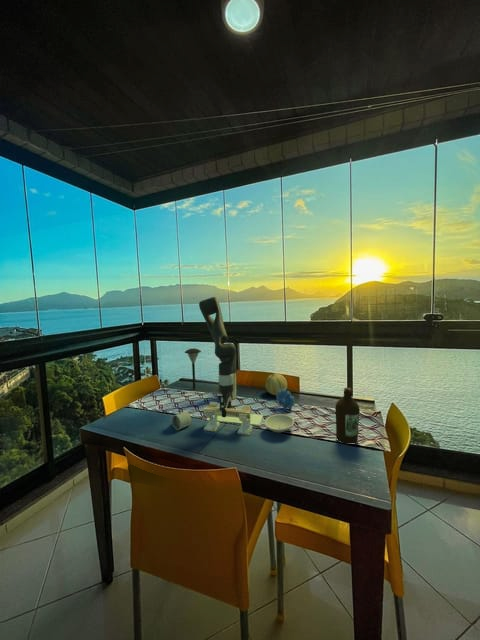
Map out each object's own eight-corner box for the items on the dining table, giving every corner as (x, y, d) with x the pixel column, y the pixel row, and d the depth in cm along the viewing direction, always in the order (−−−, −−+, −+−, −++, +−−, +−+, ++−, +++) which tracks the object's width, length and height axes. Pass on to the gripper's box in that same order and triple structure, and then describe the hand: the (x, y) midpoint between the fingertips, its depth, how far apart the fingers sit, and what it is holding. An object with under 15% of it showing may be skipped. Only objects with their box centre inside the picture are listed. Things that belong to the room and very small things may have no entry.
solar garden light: (183, 392, 202) (181, 351, 199) (189, 386, 214) (187, 347, 211) (199, 392, 200) (198, 351, 197) (204, 387, 212) (203, 347, 209)
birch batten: (206, 411, 149) (206, 406, 148) (250, 416, 143) (250, 410, 142) (204, 414, 146) (204, 408, 145) (249, 418, 140) (249, 412, 139)
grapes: (273, 409, 169) (273, 390, 168) (277, 405, 175) (277, 386, 174) (292, 413, 163) (292, 393, 162) (295, 408, 169) (295, 389, 168)
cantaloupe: (291, 394, 194) (291, 372, 192) (279, 400, 183) (278, 377, 181) (273, 389, 204) (273, 369, 202) (261, 395, 193) (260, 373, 191)
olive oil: (330, 435, 137) (331, 386, 135) (349, 433, 139) (350, 384, 137) (343, 447, 127) (344, 393, 124) (363, 444, 129) (365, 391, 127)
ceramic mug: (193, 426, 150) (192, 412, 149) (180, 432, 144) (179, 417, 143) (180, 420, 157) (180, 407, 156) (168, 426, 151) (167, 412, 150)
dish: (285, 442, 132) (285, 432, 131) (258, 434, 140) (258, 425, 139) (299, 427, 147) (299, 417, 146) (274, 420, 154) (273, 412, 154)
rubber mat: (213, 411, 168) (213, 410, 168) (263, 416, 160) (263, 415, 160) (206, 420, 156) (206, 419, 156) (259, 425, 149) (259, 424, 149)
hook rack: (209, 422, 153) (208, 401, 152) (252, 427, 147) (252, 405, 146) (203, 430, 145) (202, 408, 144) (249, 435, 139) (248, 412, 138)
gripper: (223, 377, 150) (224, 407, 152) (214, 386, 136) (215, 418, 138) (236, 378, 148) (237, 408, 150) (228, 387, 135) (229, 420, 136)
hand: (226, 413), depth 144 cm, fingers open, 8 cm apart
